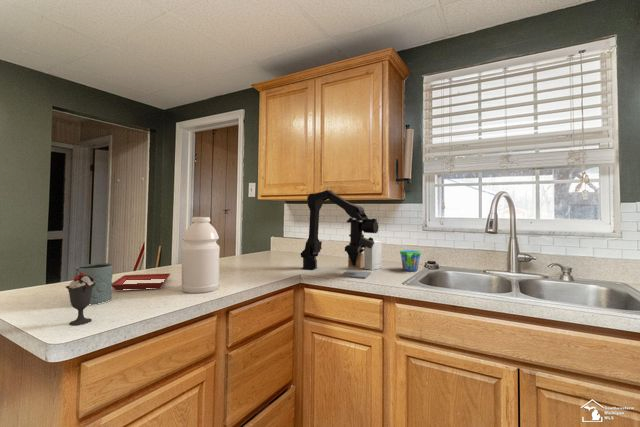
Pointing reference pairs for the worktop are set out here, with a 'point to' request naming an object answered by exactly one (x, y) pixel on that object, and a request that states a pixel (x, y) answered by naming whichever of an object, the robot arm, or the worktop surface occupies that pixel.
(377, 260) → the skincare box
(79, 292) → the sundae
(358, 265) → the walnut cube
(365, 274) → the slate mat
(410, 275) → the worktop surface
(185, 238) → the bottle
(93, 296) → the blue-grey pot
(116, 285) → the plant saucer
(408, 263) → the snack cup
